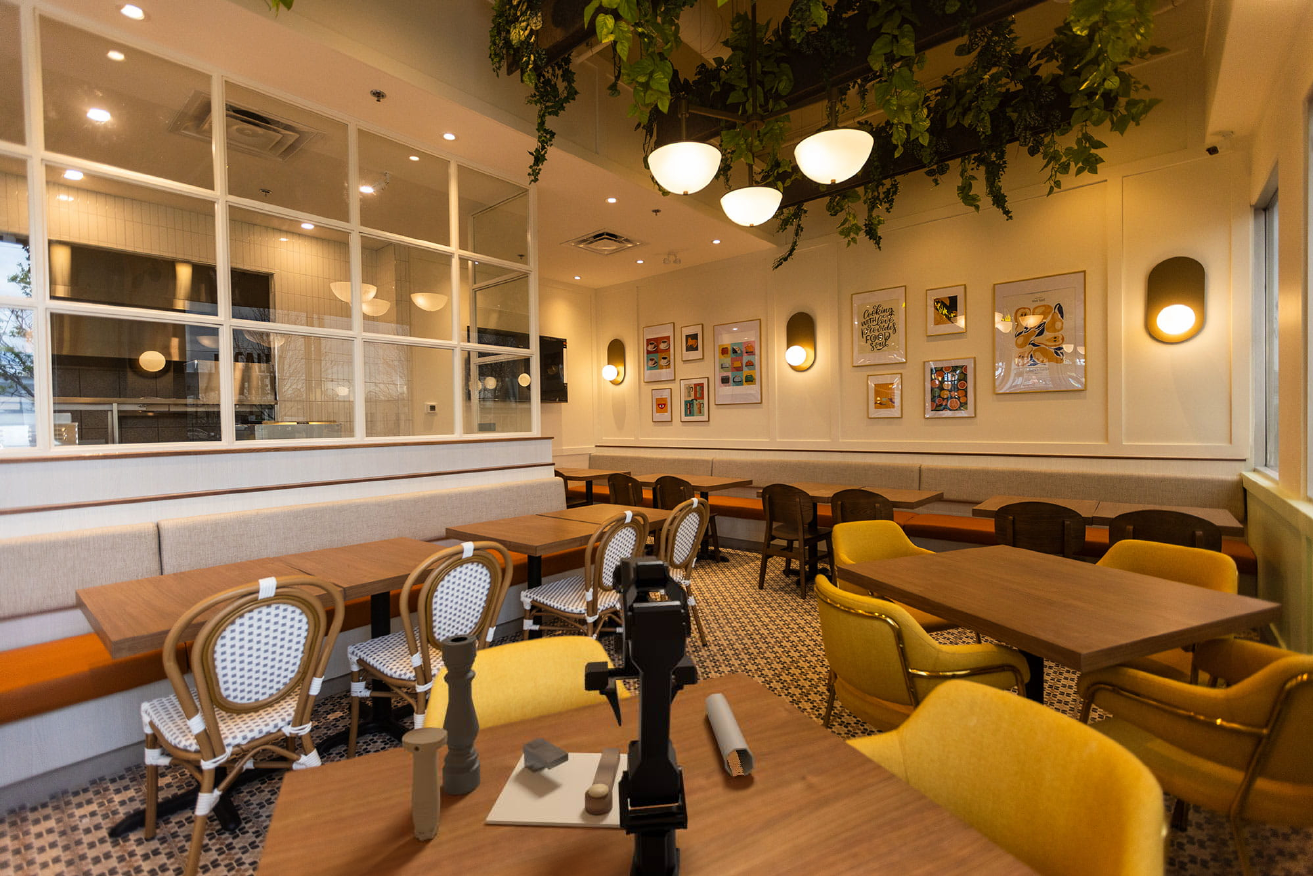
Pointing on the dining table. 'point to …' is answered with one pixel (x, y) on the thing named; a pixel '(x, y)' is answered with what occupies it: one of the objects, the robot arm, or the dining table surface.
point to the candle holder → (460, 716)
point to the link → (604, 782)
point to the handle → (425, 778)
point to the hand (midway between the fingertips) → (641, 723)
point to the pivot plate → (556, 794)
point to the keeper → (542, 755)
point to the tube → (728, 733)
